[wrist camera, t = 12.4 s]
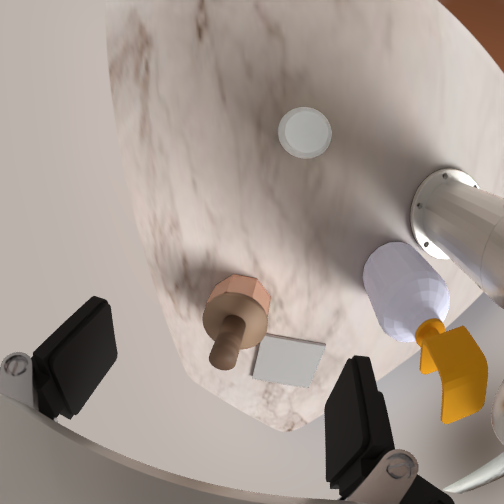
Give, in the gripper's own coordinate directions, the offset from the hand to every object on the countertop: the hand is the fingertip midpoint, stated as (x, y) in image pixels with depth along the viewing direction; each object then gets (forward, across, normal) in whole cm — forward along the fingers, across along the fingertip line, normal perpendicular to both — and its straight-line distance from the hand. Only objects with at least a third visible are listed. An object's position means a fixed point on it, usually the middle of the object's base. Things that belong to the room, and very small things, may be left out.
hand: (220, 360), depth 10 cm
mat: (+28, -7, +25) cm, 38 cm away
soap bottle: (+28, -18, +6) cm, 34 cm away
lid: (+23, +2, +15) cm, 28 cm away
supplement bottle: (+28, -2, -9) cm, 30 cm away
